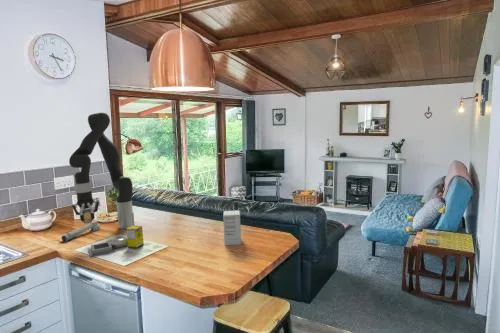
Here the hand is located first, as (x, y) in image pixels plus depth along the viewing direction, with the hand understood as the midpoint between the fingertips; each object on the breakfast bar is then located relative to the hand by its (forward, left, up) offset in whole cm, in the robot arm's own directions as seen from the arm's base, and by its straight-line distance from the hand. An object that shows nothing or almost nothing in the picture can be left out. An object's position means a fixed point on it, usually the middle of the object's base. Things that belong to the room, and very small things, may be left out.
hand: (87, 220), depth 187 cm
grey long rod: (+3, -22, -15) cm, 27 cm away
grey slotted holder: (-8, +14, -14) cm, 21 cm away
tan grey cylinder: (0, 0, -1) cm, 1 cm away
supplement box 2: (-69, +43, -14) cm, 82 cm away
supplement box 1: (-22, +18, -14) cm, 31 cm away
